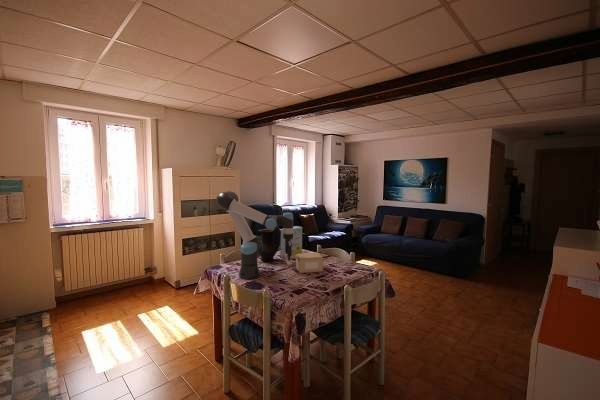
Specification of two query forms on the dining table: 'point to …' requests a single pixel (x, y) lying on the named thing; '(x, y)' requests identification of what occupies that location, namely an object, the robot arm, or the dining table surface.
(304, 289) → the dining table surface
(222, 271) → the dining table surface
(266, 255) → the jug
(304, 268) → the carton
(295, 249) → the snack box
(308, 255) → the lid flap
